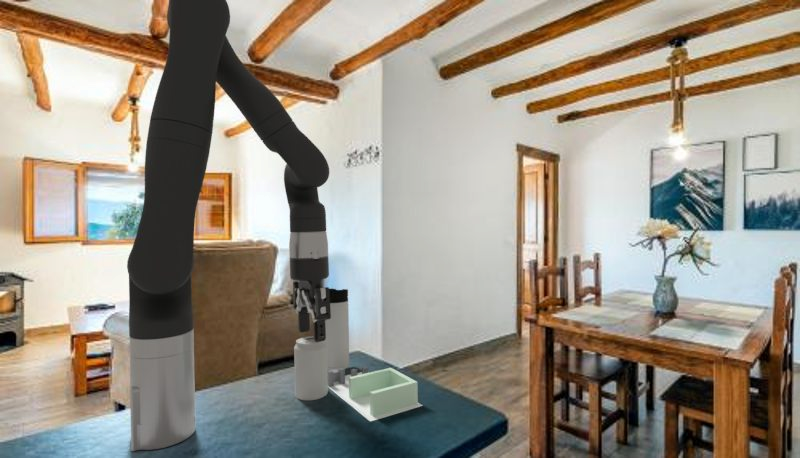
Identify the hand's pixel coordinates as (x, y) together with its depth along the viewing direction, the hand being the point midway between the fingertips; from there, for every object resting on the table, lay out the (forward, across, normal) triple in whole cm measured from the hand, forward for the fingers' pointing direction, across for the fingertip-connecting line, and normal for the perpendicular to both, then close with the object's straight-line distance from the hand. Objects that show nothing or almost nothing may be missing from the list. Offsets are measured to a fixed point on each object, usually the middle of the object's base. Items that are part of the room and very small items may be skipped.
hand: (311, 336), depth 83 cm
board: (+13, +6, +9) cm, 17 cm away
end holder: (+12, +11, +10) cm, 19 cm away
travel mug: (+13, -12, +10) cm, 20 cm away
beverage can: (+13, 0, 0) cm, 13 cm away
